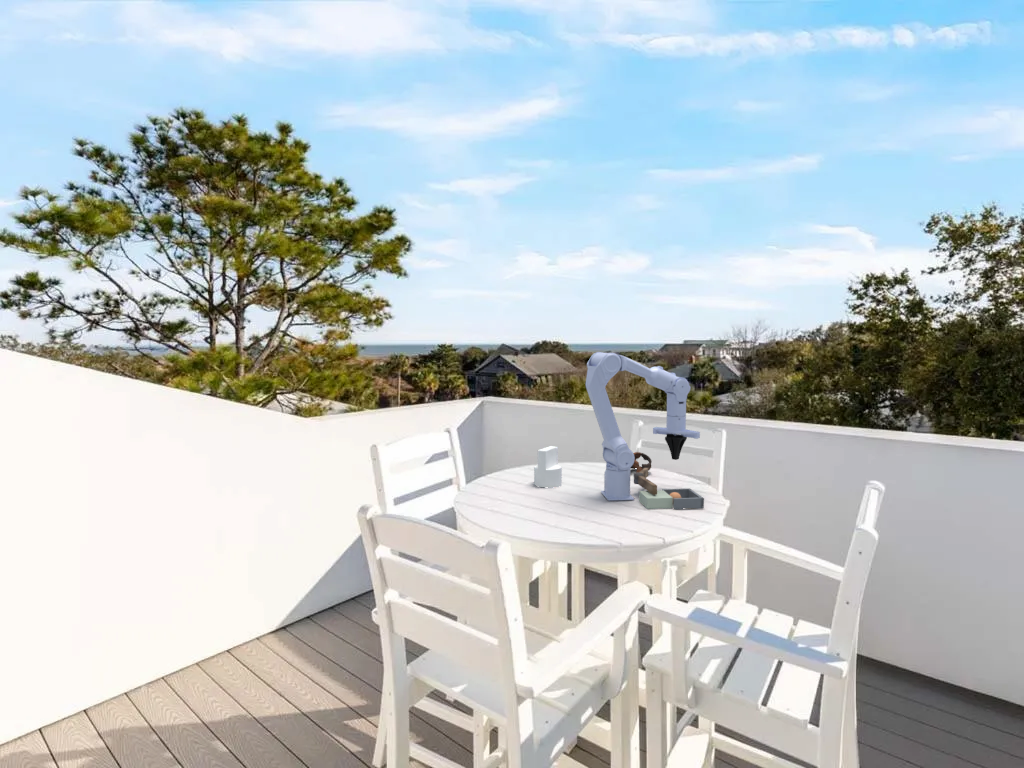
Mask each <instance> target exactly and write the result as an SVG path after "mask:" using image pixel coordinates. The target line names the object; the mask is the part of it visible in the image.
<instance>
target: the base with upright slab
mask: <svg viewBox="0 0 1024 768" xmlns="http://www.w3.org/2000/svg"><path fill="white" fill-rule="evenodd" d="M562 468H563V467H562V465H560V464H559V446H554V445H549V446H547V447H543V448H540V449H538V450H537V464H536V465H534V466H533V476H534V477H533V485H534V484H535V485H536V486H539V487H538V488H540V487H548V488H547V489H554V488H553V487H557V488H560V487H562V484H563V479H562V478H563V477H562V476H563V474H562V472H563V471H562V470H563V469H562ZM535 485H534V486H535ZM536 486H535V487H536ZM559 486H560V487H559Z"/></svg>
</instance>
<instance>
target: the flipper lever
mask: <svg viewBox="0 0 1024 768" xmlns="http://www.w3.org/2000/svg"><path fill="white" fill-rule="evenodd" d="M647 477H649V471H648V468H644V469H643V470H641V471H640V472H639V473H636V472H633V484H634V485H638V486H640V487H641V488H642V489H644V490H645V491H649V492H650V493H651V494H653V495H656V494H657V491H658V485H657V484H656V483H654V482H653V481H651V480H649V479H648V478H647Z"/></svg>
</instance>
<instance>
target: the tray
mask: <svg viewBox="0 0 1024 768" xmlns="http://www.w3.org/2000/svg"><path fill="white" fill-rule="evenodd" d="M661 490H664V491H665V492H666V493H667V494H669V495H670V494H671V493H672V492H677V493H679V494H680V495H681V498H673V508H674V509H676V510H684V509H683V508H704V509H705V498H704V496H703V497H702V495H700V494H698V493H697V492H696V491H694V490H692V489H691V487H690V488H662V489H661ZM673 508H672V509H673ZM674 509H673V510H674Z"/></svg>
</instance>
